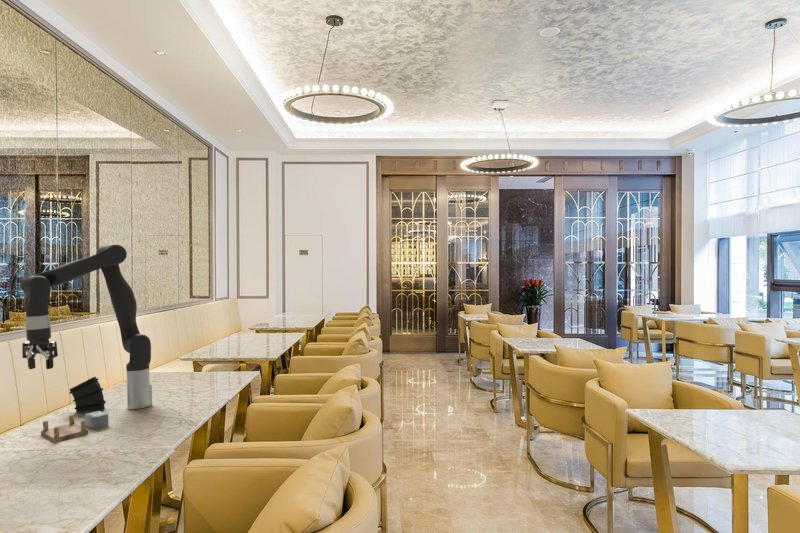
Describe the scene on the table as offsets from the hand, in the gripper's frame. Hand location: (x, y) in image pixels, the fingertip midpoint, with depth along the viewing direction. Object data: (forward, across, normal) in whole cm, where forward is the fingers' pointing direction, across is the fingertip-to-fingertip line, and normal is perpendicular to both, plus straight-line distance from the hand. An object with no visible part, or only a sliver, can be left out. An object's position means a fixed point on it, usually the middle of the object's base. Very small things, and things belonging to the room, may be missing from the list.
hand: (40, 368), depth 182 cm
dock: (+25, -10, +1) cm, 27 cm away
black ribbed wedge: (+26, +8, -27) cm, 38 cm away
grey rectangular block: (+26, -15, -9) cm, 31 cm away
